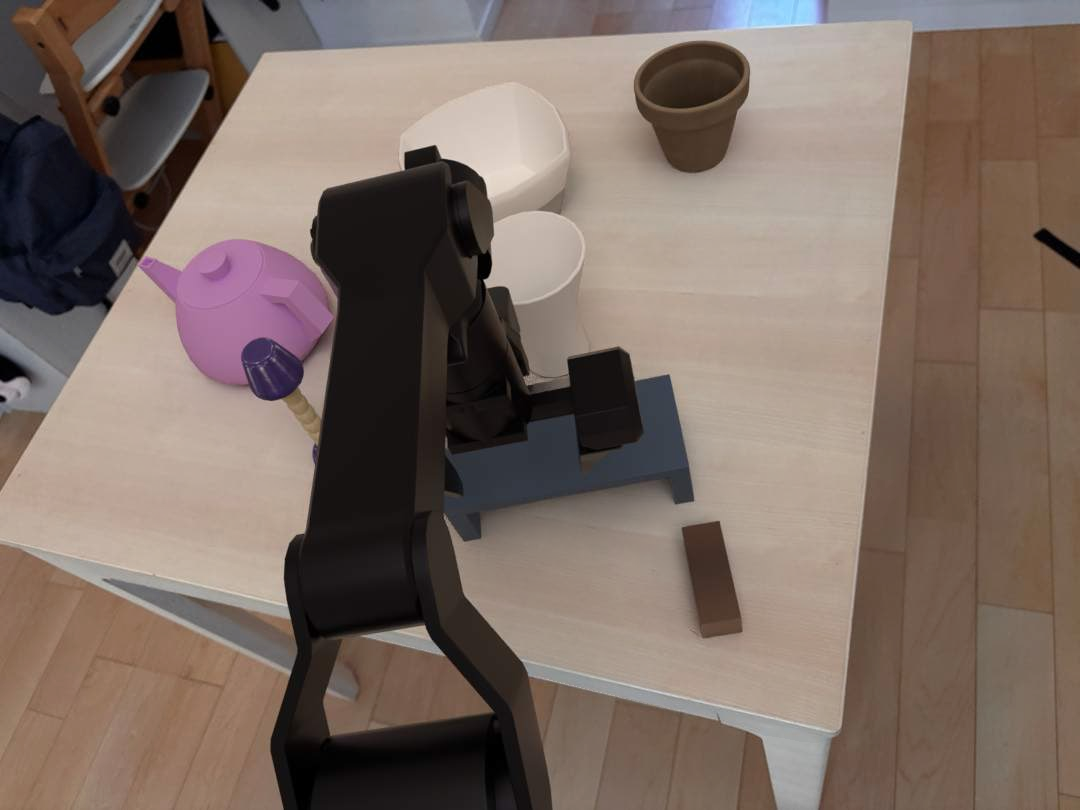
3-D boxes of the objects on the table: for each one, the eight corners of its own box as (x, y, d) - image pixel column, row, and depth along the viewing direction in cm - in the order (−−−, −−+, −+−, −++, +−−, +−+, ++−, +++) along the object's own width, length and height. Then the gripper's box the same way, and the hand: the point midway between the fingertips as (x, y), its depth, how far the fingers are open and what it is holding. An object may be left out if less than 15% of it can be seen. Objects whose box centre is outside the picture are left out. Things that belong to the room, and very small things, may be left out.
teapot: (385, 295, 93) (339, 215, 83) (314, 415, 86) (255, 343, 76) (227, 265, 101) (169, 189, 91) (151, 372, 94) (79, 302, 84)
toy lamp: (353, 424, 84) (274, 318, 71) (368, 459, 82) (289, 356, 68) (309, 447, 84) (220, 345, 70) (323, 483, 81) (233, 385, 68)
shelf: (694, 501, 72) (689, 466, 67) (463, 541, 75) (442, 511, 70) (675, 411, 77) (669, 373, 72) (460, 452, 80) (440, 418, 75)
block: (742, 632, 65) (741, 619, 63) (702, 638, 66) (700, 625, 63) (721, 536, 70) (719, 520, 67) (684, 542, 70) (681, 527, 68)
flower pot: (709, 102, 98) (703, 22, 90) (773, 151, 92) (774, 71, 84) (624, 151, 97) (611, 75, 89) (684, 205, 90) (675, 128, 82)
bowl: (459, 295, 90) (430, 232, 83) (406, 197, 101) (376, 133, 93) (609, 221, 92) (595, 152, 84) (542, 131, 102) (523, 63, 94)
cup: (559, 414, 80) (526, 324, 69) (482, 362, 85) (439, 270, 74) (632, 337, 83) (611, 239, 72) (552, 292, 88) (521, 194, 77)
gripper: (602, 218, 53) (634, 365, 66) (314, 281, 55) (399, 411, 68) (627, 363, 47) (658, 494, 59) (302, 427, 49) (398, 540, 62)
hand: (522, 479), depth 62 cm, fingers open, 9 cm apart
